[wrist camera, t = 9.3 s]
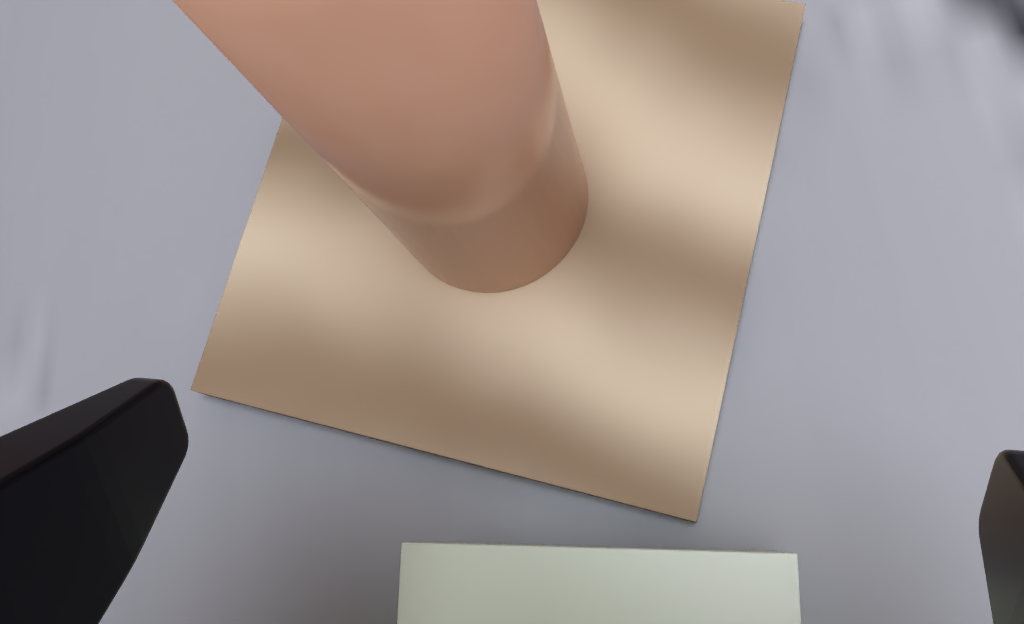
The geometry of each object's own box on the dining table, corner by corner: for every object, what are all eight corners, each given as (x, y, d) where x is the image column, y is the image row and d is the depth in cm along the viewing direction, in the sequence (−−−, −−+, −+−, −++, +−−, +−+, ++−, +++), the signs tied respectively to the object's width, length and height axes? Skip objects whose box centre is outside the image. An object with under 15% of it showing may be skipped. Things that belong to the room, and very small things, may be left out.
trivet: (696, 522, 21) (696, 521, 20) (206, 394, 25) (190, 389, 24) (802, 20, 24) (805, 3, 23) (348, -31, 28) (338, -48, 27)
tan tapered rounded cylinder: (623, 234, 23) (548, -112, 11) (448, 327, 23) (188, 88, 11) (535, 82, 24) (389, -361, 12) (373, 171, 25) (80, -181, 13)
